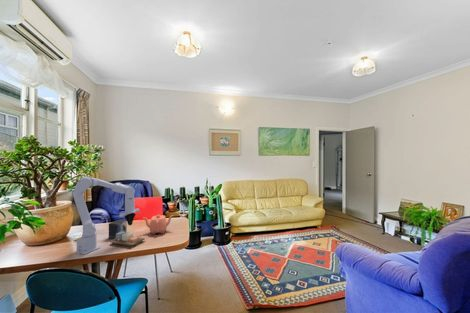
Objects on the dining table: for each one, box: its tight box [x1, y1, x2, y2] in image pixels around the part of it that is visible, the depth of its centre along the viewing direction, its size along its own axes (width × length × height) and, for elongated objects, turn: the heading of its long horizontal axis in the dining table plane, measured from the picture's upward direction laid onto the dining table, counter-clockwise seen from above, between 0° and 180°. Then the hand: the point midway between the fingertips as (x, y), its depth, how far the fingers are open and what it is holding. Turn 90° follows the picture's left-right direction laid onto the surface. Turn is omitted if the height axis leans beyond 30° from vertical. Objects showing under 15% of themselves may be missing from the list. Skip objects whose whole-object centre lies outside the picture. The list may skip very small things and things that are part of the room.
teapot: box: [142, 214, 174, 236], centre depth 155 cm, size 15×17×13 cm
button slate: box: [116, 231, 128, 240], centre depth 138 cm, size 4×4×4 cm
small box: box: [108, 219, 128, 240], centre depth 148 cm, size 11×6×10 cm, turn 168°
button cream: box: [122, 231, 134, 241], centre depth 136 cm, size 4×4×4 cm
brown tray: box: [109, 236, 146, 250], centre depth 136 cm, size 11×18×2 cm, turn 69°
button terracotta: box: [128, 236, 140, 245], centre depth 134 cm, size 4×4×4 cm
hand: (130, 224), depth 140 cm, fingers closed
